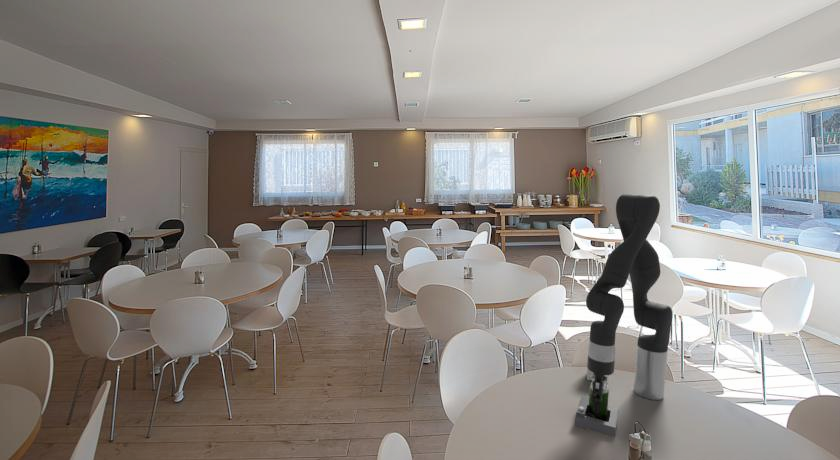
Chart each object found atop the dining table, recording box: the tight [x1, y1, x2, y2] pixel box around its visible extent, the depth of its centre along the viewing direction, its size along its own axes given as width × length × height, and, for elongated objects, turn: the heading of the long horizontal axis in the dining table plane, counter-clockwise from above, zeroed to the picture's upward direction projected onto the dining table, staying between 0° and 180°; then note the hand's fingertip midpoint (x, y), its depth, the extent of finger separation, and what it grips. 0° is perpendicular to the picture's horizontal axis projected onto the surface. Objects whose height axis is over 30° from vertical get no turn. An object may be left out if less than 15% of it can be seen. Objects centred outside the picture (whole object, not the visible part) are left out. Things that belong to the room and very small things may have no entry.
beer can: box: [587, 382, 610, 422], centre depth 122 cm, size 5×5×12 cm
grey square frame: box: [575, 395, 619, 438], centre depth 122 cm, size 11×11×5 cm
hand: (598, 405), depth 122 cm, fingers open, 8 cm apart
